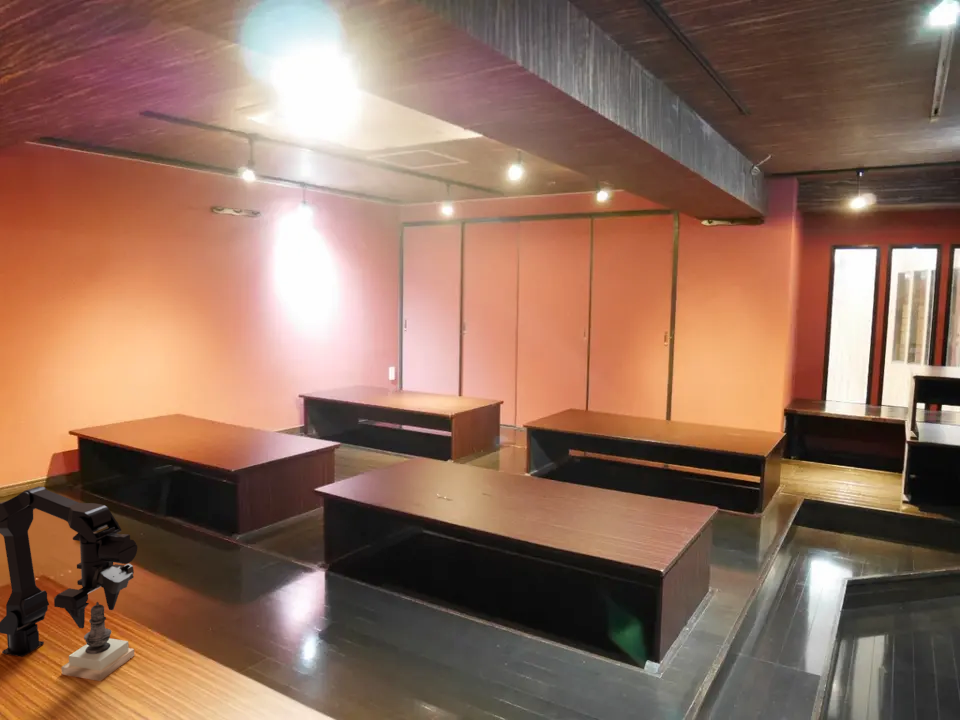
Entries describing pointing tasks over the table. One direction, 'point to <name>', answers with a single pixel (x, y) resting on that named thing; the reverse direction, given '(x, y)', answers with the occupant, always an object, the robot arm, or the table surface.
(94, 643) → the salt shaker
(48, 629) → the table surface
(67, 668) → the birch slab
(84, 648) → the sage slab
